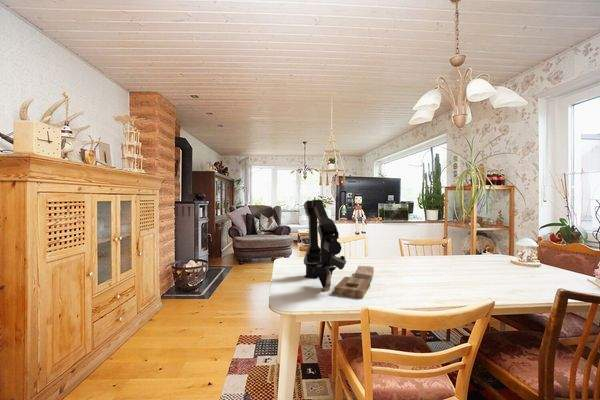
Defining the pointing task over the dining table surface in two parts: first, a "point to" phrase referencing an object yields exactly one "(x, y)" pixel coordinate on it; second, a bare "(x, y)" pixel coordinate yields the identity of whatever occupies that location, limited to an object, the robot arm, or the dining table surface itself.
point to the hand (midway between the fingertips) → (326, 285)
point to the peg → (327, 283)
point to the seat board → (352, 287)
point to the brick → (364, 272)
